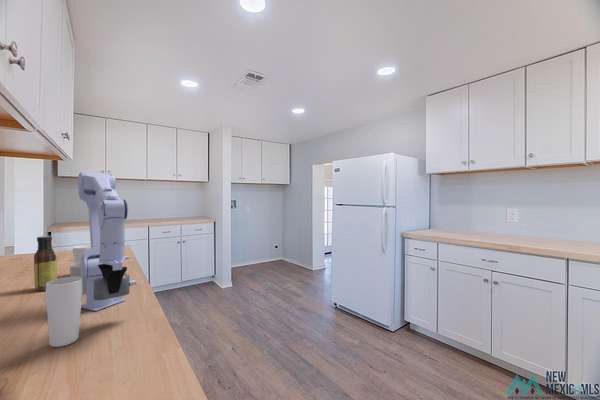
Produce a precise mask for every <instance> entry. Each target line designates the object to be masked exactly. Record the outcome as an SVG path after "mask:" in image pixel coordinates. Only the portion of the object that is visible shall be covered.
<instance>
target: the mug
mask: <svg viewBox="0 0 600 400" xmlns="http://www.w3.org/2000/svg"><path fill="white" fill-rule="evenodd" d="M69 277H81V262H79V263H75V262H74V263H72V264H71V265H70V267H69ZM81 278H82V277H81ZM82 283H83V295H86V292H87V280H86V279H83V278H82Z"/></svg>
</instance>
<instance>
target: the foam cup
mask: <svg viewBox="0 0 600 400" xmlns="http://www.w3.org/2000/svg"><path fill="white" fill-rule="evenodd" d="M89 249H91V243H90V244H80V245H75V246H73V247H72V254H73V259H74V264H75V263H79V262H81V257H82V255H83V254H84V253H85V252H87V251H88V250H89Z"/></svg>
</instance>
